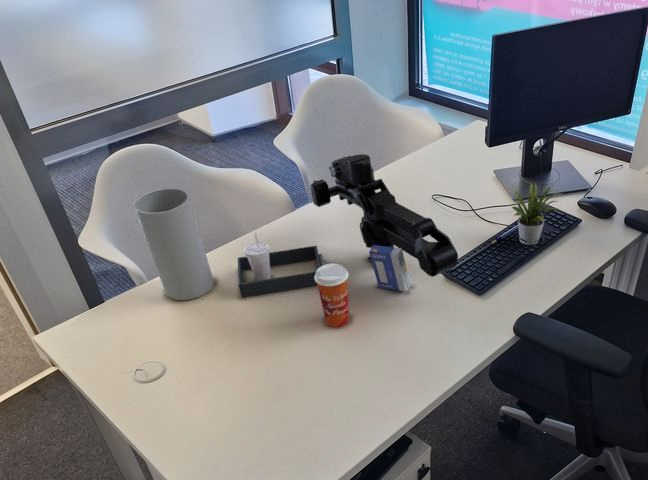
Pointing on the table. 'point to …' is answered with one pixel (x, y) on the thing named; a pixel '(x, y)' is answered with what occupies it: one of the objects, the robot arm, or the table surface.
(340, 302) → the paper cup
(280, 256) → the rectangular tray
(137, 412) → the table surface
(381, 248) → the walkman
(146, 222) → the cylinder vase
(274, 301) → the table surface
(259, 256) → the smoothie
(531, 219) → the house plant
